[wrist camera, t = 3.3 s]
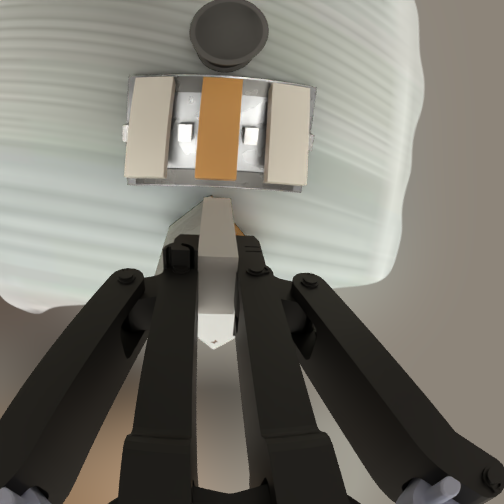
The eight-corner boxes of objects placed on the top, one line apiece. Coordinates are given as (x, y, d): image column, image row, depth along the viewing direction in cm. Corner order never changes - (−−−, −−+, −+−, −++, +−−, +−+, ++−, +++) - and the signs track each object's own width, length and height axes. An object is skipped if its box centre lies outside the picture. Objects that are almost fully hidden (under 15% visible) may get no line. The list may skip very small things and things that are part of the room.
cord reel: (199, 19, 23) (194, -4, 16) (258, 23, 23) (272, 2, 17) (194, 70, 25) (185, 63, 19) (252, 74, 26) (264, 68, 19)
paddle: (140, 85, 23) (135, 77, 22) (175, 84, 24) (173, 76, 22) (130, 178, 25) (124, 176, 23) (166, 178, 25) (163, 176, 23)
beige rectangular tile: (268, 89, 25) (272, 82, 23) (303, 94, 26) (310, 88, 24) (263, 182, 27) (267, 181, 25) (299, 185, 27) (306, 185, 25)
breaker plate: (134, 76, 25) (124, 75, 22) (310, 87, 27) (322, 87, 24) (132, 179, 30) (123, 189, 27) (296, 186, 33) (305, 197, 30)
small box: (254, 244, 36) (272, 319, 25) (212, 272, 37) (212, 352, 26) (211, 192, 32) (208, 252, 21) (167, 225, 33) (146, 297, 22)
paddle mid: (203, 84, 24) (203, 76, 22) (240, 87, 25) (242, 79, 23) (195, 179, 26) (194, 177, 24) (234, 180, 26) (236, 179, 24)
